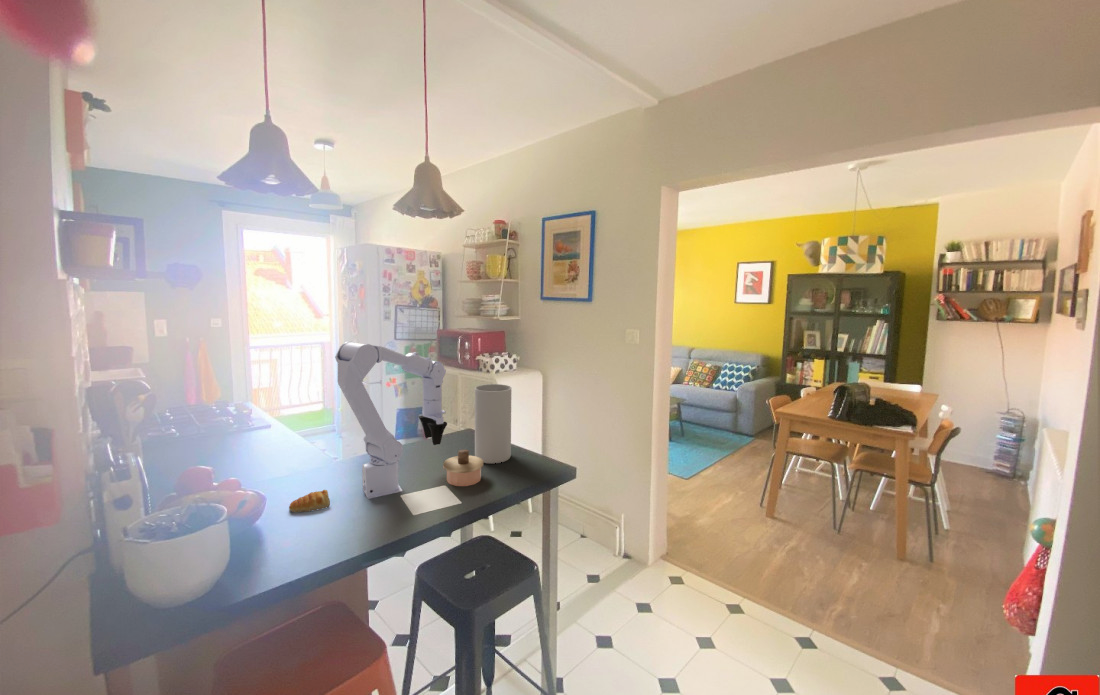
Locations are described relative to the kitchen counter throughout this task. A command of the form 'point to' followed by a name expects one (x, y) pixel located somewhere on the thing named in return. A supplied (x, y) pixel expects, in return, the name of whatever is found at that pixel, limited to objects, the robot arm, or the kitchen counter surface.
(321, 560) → the kitchen counter surface
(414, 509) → the mat
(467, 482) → the bowl
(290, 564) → the kitchen counter surface
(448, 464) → the lid
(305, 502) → the pastry
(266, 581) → the kitchen counter surface
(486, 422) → the cylinder vase
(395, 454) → the robot arm
